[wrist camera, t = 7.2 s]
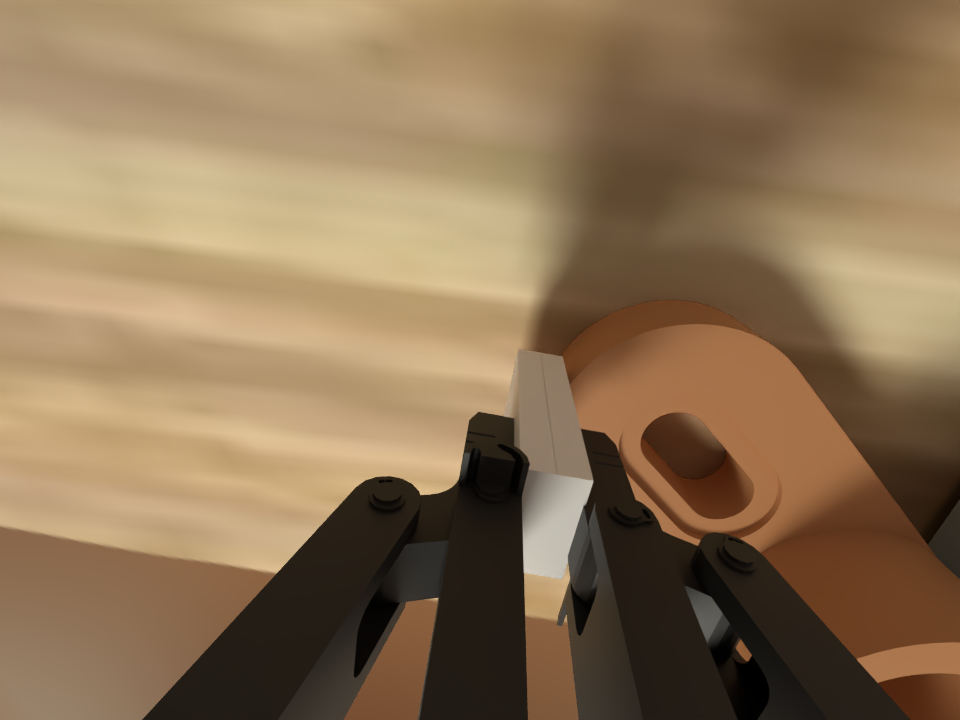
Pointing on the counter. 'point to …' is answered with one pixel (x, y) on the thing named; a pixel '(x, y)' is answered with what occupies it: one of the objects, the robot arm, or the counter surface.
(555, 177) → the counter surface
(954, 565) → the plate
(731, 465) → the bracket
